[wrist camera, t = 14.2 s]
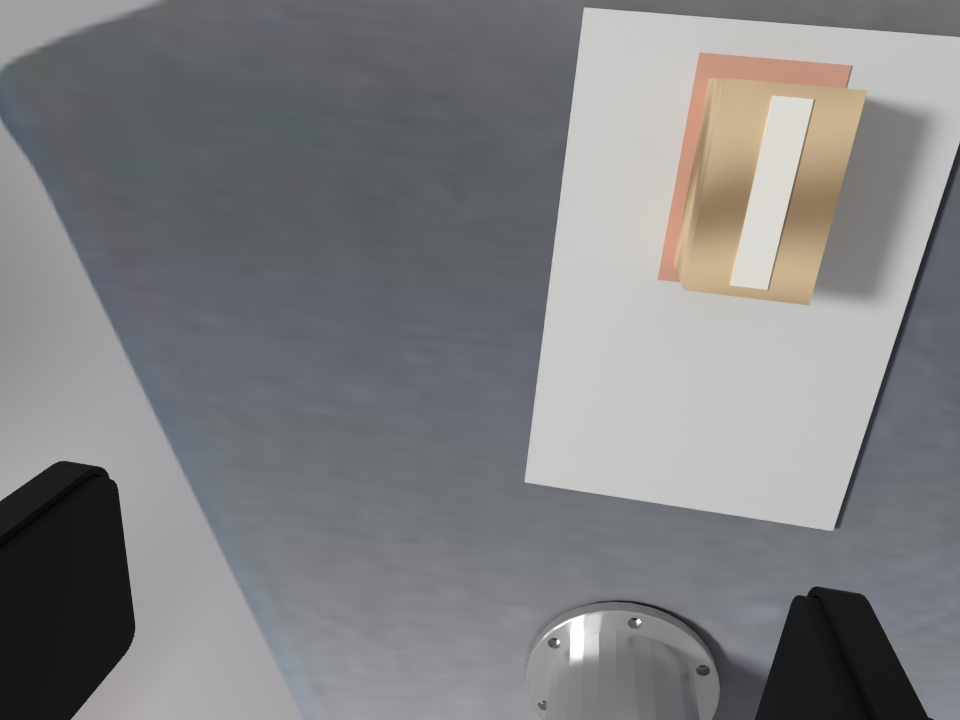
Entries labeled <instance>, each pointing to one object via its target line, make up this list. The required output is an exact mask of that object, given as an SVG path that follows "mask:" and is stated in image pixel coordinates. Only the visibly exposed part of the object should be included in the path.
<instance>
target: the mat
mask: <svg viewBox="0 0 960 720" xmlns="http://www.w3.org/2000/svg"><path fill="white" fill-rule="evenodd" d="M709 78H731V79H743V80H754V81H765V82H777V83H788V84H800V85H811V86H823V87H834V88H846V89H857V90H867V94H866V97H865V101H864V105H863V108H862V112H861V116H860V120H859V123H858V127H857V131H856V134H855V138H854V142H853V145H852V149H851V153H850V157H849V160H848V164H847V168H846V171H845V175H844V179H843V182H842V186H841V190H840V194H839V197H838V201H837V205H836V208H835V212H834V216H833V219H832V223H831V227H830V230H829V234H828V238H827V242H826V245H825V249H824V253H823V256H822V260H821V264H820V267H819V271H818V275H817V279H816V282H815V286H814V290H813V293H812V297H811V301H810V304H809V305H802V304H794V303H785V302H777V301H769V300H761V299H753V298H744V297H736V296H728V295H720V294H712V293H703V292H695V291H687V290H684V289H683V287H682V284H681V282H680V279H679V277H678V274H677V271H676V269H675V266H674V260H675V254H676V249H677V244H678V239H679V233H680V228H681V223H682V218H683V212H684V207H685V202H686V197H687V191H688V186H689V181H690V176H691V170H692V165H693V160H694V155H695V149H696V144H697V139H698V134H699V128H700V123H701V118H702V113H703V107H704V102H705V97H706V92H707V86H708V81H709ZM959 143H960V37H949V36H936V35H924V34H911V33H899V32H886V31H873V30H861V29H848V28H835V27H823V26H810V25H797V24H785V23H772V22H760V21H747V20H734V19H722V18H709V17H696V16H684V15H671V14H658V13H646V12H633V11H621V10H608V9H595V8H584V12H583V20H582V28H581V36H580V44H579V52H578V60H577V68H576V76H575V84H574V92H573V100H572V108H571V116H570V124H569V132H568V140H567V148H566V156H565V164H564V172H563V180H562V188H561V196H560V204H559V212H558V220H557V228H556V236H555V244H554V252H553V260H552V268H551V276H550V284H549V292H548V300H547V308H546V316H545V324H544V332H543V340H542V348H541V356H540V364H539V372H538V380H537V388H536V395H535V403H534V411H533V419H532V427H531V435H530V443H529V451H528V459H527V467H526V475H525V482H526V483H532V484H539V485H545V486H551V487H558V488H564V489H570V490H577V491H583V492H589V493H596V494H602V495H608V496H615V497H621V498H627V499H634V500H640V501H646V502H653V503H659V504H666V505H672V506H678V507H685V508H691V509H697V510H704V511H710V512H716V513H723V514H729V515H735V516H742V517H748V518H754V519H761V520H767V521H773V522H780V523H786V524H792V525H799V526H805V527H811V528H818V529H824V530H830V531H833V530H834V526H835V523H836V520H837V517H838V514H839V511H840V508H841V505H842V502H843V499H844V496H845V493H846V490H847V487H848V483H849V480H850V477H851V474H852V471H853V468H854V465H855V462H856V459H857V456H858V453H859V450H860V447H861V444H862V441H863V437H864V434H865V431H866V428H867V425H868V422H869V419H870V416H871V413H872V410H873V407H874V404H875V401H876V398H877V394H878V391H879V388H880V385H881V382H882V379H883V376H884V373H885V370H886V367H887V364H888V361H889V358H890V355H891V352H892V348H893V345H894V342H895V339H896V336H897V333H898V330H899V327H900V324H901V321H902V318H903V315H904V312H905V309H906V305H907V302H908V299H909V296H910V293H911V290H912V287H913V284H914V281H915V278H916V275H917V272H918V269H919V266H920V263H921V259H922V256H923V253H924V250H925V247H926V244H927V241H928V238H929V235H930V232H931V229H932V226H933V223H934V220H935V216H936V213H937V210H938V207H939V204H940V201H941V198H942V195H943V192H944V189H945V186H946V183H947V180H948V177H949V174H950V170H951V167H952V164H953V161H954V158H955V155H956V152H957V149H958V146H959Z"/></svg>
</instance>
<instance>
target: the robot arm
mask: <svg viewBox="0 0 960 720" xmlns="http://www.w3.org/2000/svg"><path fill="white" fill-rule="evenodd" d="M134 633H135V619H134V612H133V604H132V596H131V588H130V580H129V572H128V564H127V556H126V548H125V541H124V533H123V525H122V517H121V509H120V502H119V493H118V488H117V484H116V483H115V481H113V480H111V479H109V476H108V473H107V472H106V470H105V469H103V468H101V467H98V466H92V465H86V464H80V463H74V462H68V461H60V462H57V463H55V464H53V465H52V466H50V467H49V468H48V469H46V470H44V471H43V472H42V473H40V474H39V475H37V476H36V477H34V478H33V479H32V480H30V481H29V482H27V483H26V484H24V485H23V486H21V487H20V488H19V489H17V490H16V491H14V492H13V493H11V494H10V495H9V496H7V497H6V498H4V499H3V500H1V501H0V720H71V719H72V717H73V716H74V715H75V714H76V713H77V711H78V710H79V709H80V708H81V707H82V705H83V704H84V703H85V702H86V701H87V699H88V698H89V697H90V696H91V695H92V693H93V692H94V691H95V690H96V688H97V687H98V686H99V685H100V684H101V682H102V681H103V680H104V679H105V678H106V676H107V675H108V674H109V673H110V672H111V671H112V669H113V668H114V667H115V666H116V664H117V663H118V662H119V661H120V660H121V658H122V657H123V656H124V655H125V653H126V652H127V650H128V649H129V647H130V645H131V643H132V640H133V637H134ZM526 683H527V691H528V694H529V696H530V699H531V702H532V704H533V706H534V708H535V709H536V711H537V713H538V714H539V716H540V717H541V718H542V719H543V720H712V719H713V717H714V715H715V712H716V710H717V708H718V705H719V698H720V684H719V676H718V672H717V668H716V664H715V660H714V658H713V656H712V654H711V652H710V650H709V649H708V647H707V645H706V644H705V643H704V642H703V641H702V639H701V638H700V637H699V636H698V634H696V633H695V632H694V631H693V630H692V629H691V628H689V627H688V626H687V625H686V624H685V623H683V622H681V621H680V620H678V619H676V618H674V617H673V616H671V615H669V614H667V613H665V612H662V611H659V610H657V609H654V608H652V607H648V606H643V605H638V604H634V603H623V602H606V603H595V604H590V605H586V606H583V607H579V608H576V609H573V610H571V611H569V612H567V613H565V614H562V615H561V616H559V617H558V618H556V619H555V620H554V621H552V622H551V623H549V624H548V625H547V626H546V627H545V628H544V629H543V630H542V632H541V633H540V634H539V635H538V636H537V638H536V640H535V642H534V643H533V645H532V647H531V650H530V654H529V657H528V661H527V672H526ZM755 720H933V719H932V718H928V716H927V714H926V712H925V710H924V708H923V707H922V705H921V703H920V701H919V699H918V697H917V695H916V693H915V691H914V689H913V687H912V685H911V683H910V681H909V679H908V677H907V675H906V673H905V671H904V669H903V667H902V666H901V664H900V662H899V660H898V658H897V656H896V654H895V652H894V650H893V648H892V646H891V644H890V642H889V640H888V638H887V636H886V634H885V632H884V630H883V628H882V627H881V625H880V623H879V621H878V619H877V617H876V615H875V613H874V611H873V609H872V607H871V605H870V603H869V601H868V600H867V599H866V597H865V596H864V595H862V594H859V593H853V592H847V591H841V590H835V589H829V588H823V587H817V586H816V587H813V588H812V589H811V590H810V591H809V593H808V595H807V597H806V596H800V595H798V596H795V598H794V599H793V601H792V603H791V606H790V609H789V613H788V616H787V619H786V622H785V625H784V629H783V632H782V635H781V638H780V641H779V644H778V648H777V651H776V654H775V657H774V660H773V664H772V667H771V670H770V673H769V676H768V680H767V683H766V686H765V689H764V692H763V695H762V699H761V702H760V705H759V708H758V711H757V715H756V718H755Z"/></svg>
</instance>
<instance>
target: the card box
mask: <svg viewBox="0 0 960 720" xmlns="http://www.w3.org/2000/svg"><path fill="white" fill-rule="evenodd" d="M866 94H867V90H857V89H846V88H834V87H823V86H811V85H800V84H788V83H777V82H765V81H754V80H743V79H731V78H709V81H708V86H707V92H706V97H705V102H704V107H703V113H702V118H701V123H700V128H699V134H698V139H697V144H696V149H695V155H694V160H693V165H692V170H691V176H690V181H689V186H688V191H687V197H686V202H685V207H684V212H683V218H682V223H681V228H680V233H679V239H678V244H677V249H676V254H675V260H674V266H675V269H676V271H677V274H678V277H679V279H680V282H681V284H682V287H683V289H684V290H687V291H695V292H703V293H712V294H720V295H728V296H736V297H744V298H753V299H761V300H769V301H777V302H785V303H794V304H802V305H809V304H810V301H811V297H812V293H813V290H814V286H815V282H816V279H817V275H818V271H819V267H820V264H821V260H822V256H823V253H824V249H825V245H826V242H827V238H828V234H829V230H830V227H831V223H832V219H833V216H834V212H835V208H836V205H837V201H838V197H839V194H840V190H841V186H842V182H843V179H844V175H845V171H846V168H847V164H848V160H849V157H850V153H851V149H852V145H853V142H854V138H855V134H856V131H857V127H858V123H859V120H860V116H861V112H862V108H863V105H864V101H865V97H866Z"/></svg>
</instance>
